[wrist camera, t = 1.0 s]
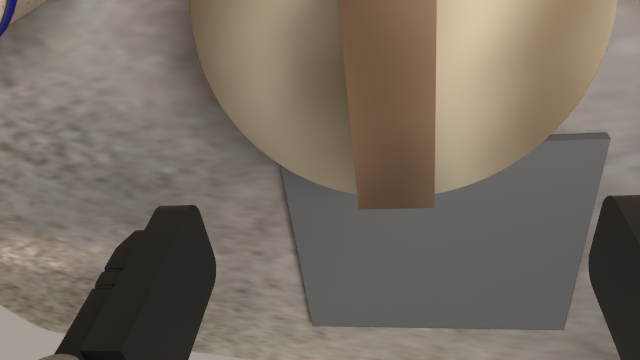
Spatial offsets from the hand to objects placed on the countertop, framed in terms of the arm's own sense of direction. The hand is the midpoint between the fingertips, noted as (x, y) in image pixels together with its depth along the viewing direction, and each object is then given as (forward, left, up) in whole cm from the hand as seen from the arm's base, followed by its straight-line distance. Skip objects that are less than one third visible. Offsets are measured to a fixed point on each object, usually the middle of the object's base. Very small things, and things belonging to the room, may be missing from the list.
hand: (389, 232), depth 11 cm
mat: (-2, +17, -18) cm, 25 cm away
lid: (0, 0, -12) cm, 12 cm away
